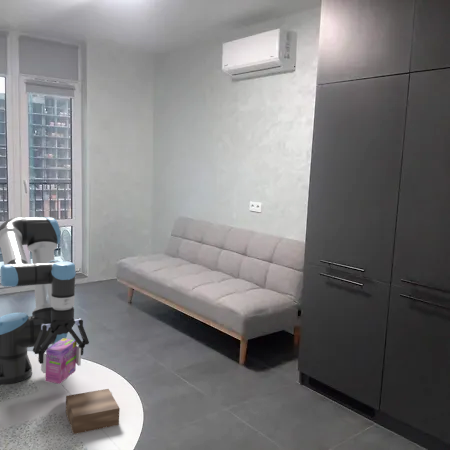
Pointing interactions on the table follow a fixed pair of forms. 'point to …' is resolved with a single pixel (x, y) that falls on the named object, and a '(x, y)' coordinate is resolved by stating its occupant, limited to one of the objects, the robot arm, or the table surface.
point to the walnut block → (92, 411)
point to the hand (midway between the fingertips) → (61, 367)
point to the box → (60, 360)
